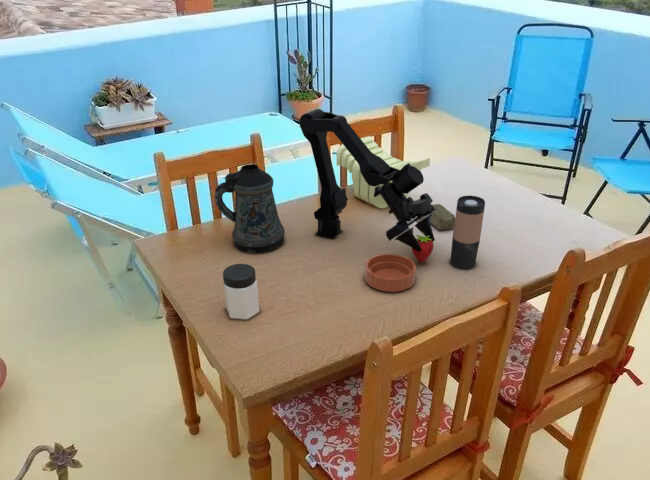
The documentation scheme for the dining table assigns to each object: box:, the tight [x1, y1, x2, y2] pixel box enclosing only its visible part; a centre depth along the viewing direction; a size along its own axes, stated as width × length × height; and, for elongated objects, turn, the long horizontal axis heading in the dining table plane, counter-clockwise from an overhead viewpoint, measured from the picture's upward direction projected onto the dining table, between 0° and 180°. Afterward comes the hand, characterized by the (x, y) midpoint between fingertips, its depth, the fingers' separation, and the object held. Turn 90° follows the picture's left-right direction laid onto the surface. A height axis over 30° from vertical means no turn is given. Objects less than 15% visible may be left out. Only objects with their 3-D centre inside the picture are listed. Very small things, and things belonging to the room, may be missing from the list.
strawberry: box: [411, 234, 434, 264], centre depth 170 cm, size 6×8×10 cm
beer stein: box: [214, 163, 286, 254], centre depth 178 cm, size 16×19×25 cm
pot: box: [364, 252, 417, 293], centre depth 164 cm, size 14×14×5 cm
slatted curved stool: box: [336, 135, 431, 209], centre depth 207 cm, size 30×16×18 cm, turn 38°
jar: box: [222, 263, 260, 320], centre depth 150 cm, size 9×8×12 cm
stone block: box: [429, 203, 455, 231], centre depth 193 cm, size 6×12×5 cm, turn 19°
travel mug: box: [450, 195, 486, 270], centre depth 167 cm, size 8×8×20 cm
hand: (427, 246), depth 169 cm, fingers closed on strawberry, 7 cm apart
